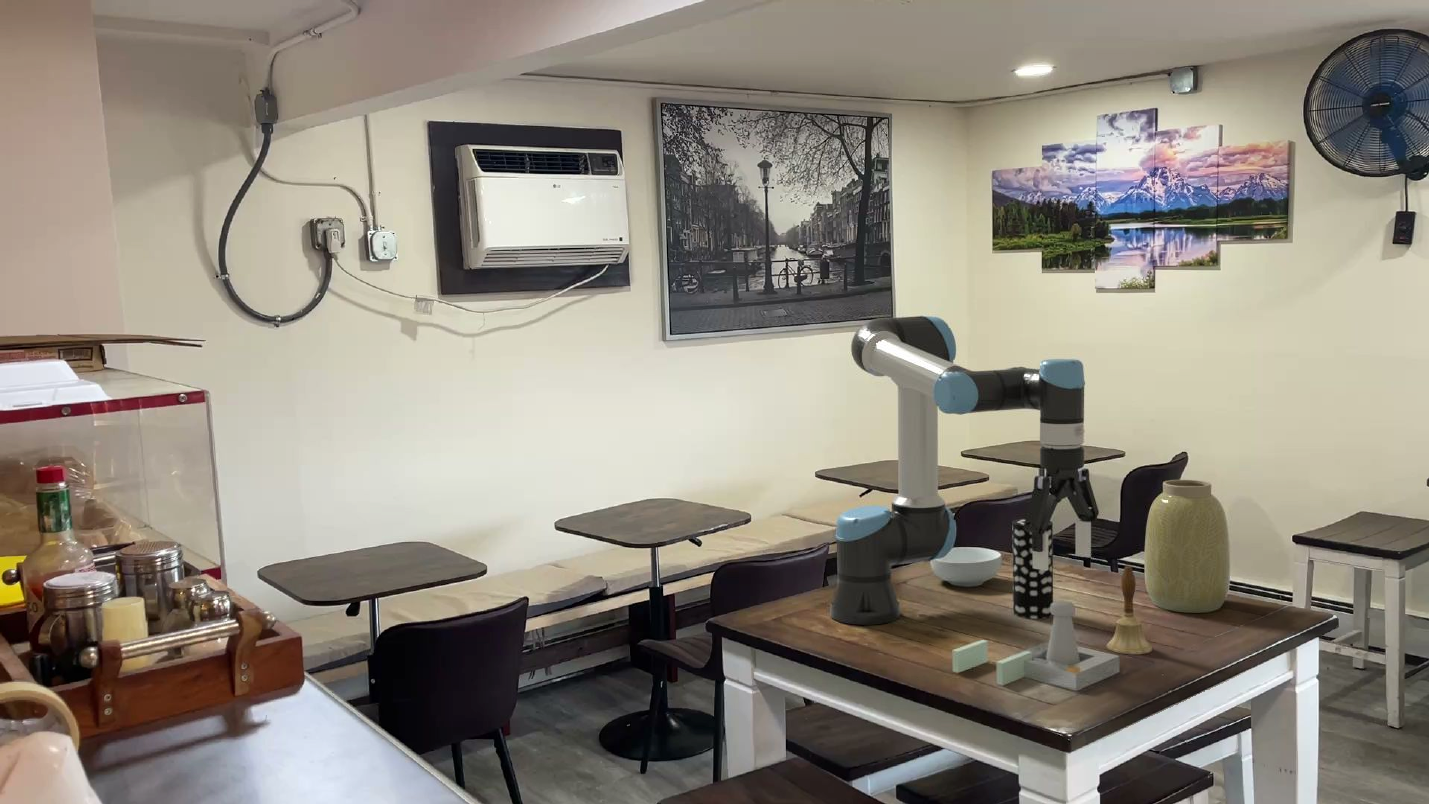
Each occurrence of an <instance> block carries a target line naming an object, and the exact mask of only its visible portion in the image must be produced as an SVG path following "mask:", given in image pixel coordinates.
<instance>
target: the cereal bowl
mask: <svg viewBox="0 0 1429 804" xmlns="http://www.w3.org/2000/svg"><path fill="white" fill-rule="evenodd" d="M929 562H930V567H931V569H932V572H933V574H935V576H936V577H938V578H939V579H941V580H943V581H946V582H948V583H949V584H950V585H952V586H957V587H969V588H970V587H978V586H981V585H983V584H984V583H985V582H987V581H990V580H991V579H993V578H995V577H996V576H997V575H998V573H999V572H1000V570H1001V566H1002V554H1001V552H999V551H997V550H993V549H988V548H983V547H981V548H980V547H970V546H969V547H968V546H967V547H961V546H960V547H952V549H951V551H950V552H948V554H947V555H946V556H944V557H942V558H939V559H934V560H932V561H929Z"/></svg>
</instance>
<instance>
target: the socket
mask: <svg viewBox="0 0 1429 804" xmlns="http://www.w3.org/2000/svg"><path fill="white" fill-rule="evenodd" d="M1048 646H1049V640H1048V641H1045V642H1043V643H1039V644H1037V645H1035V646H1032V647H1028V648H1027V649H1024V650H1021V651H1019V652H1015V653H1013V654H1010V655H1008V656H1007V658H1008V657H1011V656H1014V655H1016V654H1019V653H1022V652H1024V651H1029V652H1032V658H1029V659H1027V660H1024V677H1023V678H1025V679H1026V678H1027V679H1030V680H1035V681H1036V682H1037V681H1038V682H1042V683H1046V684H1049V685H1053V686H1056V687H1060V688H1064V689H1068V690H1070V691H1073V692H1074V691H1075V692H1077V691H1079V690H1082V689H1084V688H1086V687H1088V686H1091V685H1093V684H1095V683H1098V682H1100V681H1103V680H1104V679H1107V678H1109V677H1111V676H1114V675H1116V674H1118V673H1120V655H1116V654H1113V653H1108V652H1103V651H1100V650H1096V649H1091V648H1087V647H1084V646H1083V647H1082V646H1079V645H1077V649H1078V654H1079V659H1080V662H1079V663H1077V664H1075V665H1071V666H1068V665H1064V664H1060V663H1056V662H1052V661H1048V660H1046V656H1047V651H1048Z"/></svg>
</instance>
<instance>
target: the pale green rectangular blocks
mask: <svg viewBox="0 0 1429 804" xmlns="http://www.w3.org/2000/svg"><path fill="white" fill-rule="evenodd" d="M988 642H989V641H988V640H986V639H985V640H984V639H982V640H978V641H977V640H976V641H974V642H972V643H969V644H965V645H964V646H961V647H957V648H954V649H953V650H951V651H952V657H951V658H952V672H953V673H956V674H959V673H962V672H965V671H966V670H967V671H968V670H969V669H972V667H973V668H975V667H978V666H980V665H983V664H986V663H988V661H989V654H988V653H989V652H988V651H989V650H988V649H989V647H988V646H989V645H988V644H989V643H988ZM1023 651H1024V650H1023ZM1015 654H1016V653H1015ZM1029 658H1032V652H1029V651H1024V652H1022V653H1019V654H1016V655H1014V656H1011V657H1008V656H1007V657H1006V658H1003V659H1001V660H998V661H996V663H995V664H996V685H998V686H1005V685H1007V684H1010V683H1012V682H1014V681H1017V680H1020V679H1022V678H1025V677H1024V660H1027V659H1029Z"/></svg>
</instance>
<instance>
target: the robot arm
mask: <svg viewBox="0 0 1429 804" xmlns="http://www.w3.org/2000/svg"><path fill="white" fill-rule="evenodd" d="M850 346H851V349H850V351H851V356H852V359H853V361H854V362H855V364H856V365H857V366H858V367H859V368H860V369H861V370H862V371H864V372H866V373H868V374H870V375H872V376H874V377H885V376H886V377H888V378H890V379H891V381H892V382H893V383H894V384H895V385H896V386H897V437H898V438H897V449H898V450H897V451H898V452H897V453H898V454H897V459H898V460H897V461H898V464H897V467H898V470H897V472H898V477H897V478H898V481H897V482H898V487H897V489H898V493H897V494H896V496H894V497H893V499H892V500H891V511H890V509H889V508H888V507H886V506H882V505H869V506H868V505H866V506H865V505H864V506H860V507H859V506H858V507H854V508H851V509H849V510H845V511H844V512H842V513H841V514H840V515H839V516H838V518H837V520H836V527H835V528H836V529H835V538H836V563H837V582H836V584H835V589H834V592H833V596H832V601H831V603H830V604H829V605H830V609H829V612H830V618H832V619H834V620H835V621H836V622H837V621H838V622H842V623H845V624H849V625H850V624H851V625H862V626H863V625H864V626H865V625H867V626H868V625H882V624H887V623H891V622H893V621H896V620H898V619H899V618H900V617H901V606H900V602H899V601H898V599H897V594H896V592H895V589H894V586H893V582H892V581H893V580H892V566H897V565H904V564H911V563H921V562H926V563H927V562H930V561H932V560H934V559H939V558H942V557H944V556H946V555H947V554H948V552H950V551H951V549H952V548H954V545H955V541H956V537H957V523H956V520H955V519H954V517H955V516H954V514H953V511H951V510H950V509H949V508H948V507H946V502H945V499H943V498H942V496H941V495H939V490H938V489H939V485H938V484H939V458H938V457H939V452H938V451H939V447H938V446H939V439H938V438H939V435H938V434H939V433H938V432H939V427H938V426H939V424H938V423H939V422H938V421H939V419H938V418H939V417H938V413H939V411H941V412H942V413H944V414H946V415H947V414H949V415H951V414H952V415H965V414H973V413H983V412H984V413H985V412H996V411H997V412H998V411H1013V410H1033V411H1034V410H1035V411H1039V412H1040V413H1039V414H1040V416H1039V443H1040V444H1041V445H1043V446H1041V447H1040V449H1039V457H1040V458H1039V464H1040V467H1041V468H1043V469H1045V471H1046V472H1045V476H1042V475H1041V476H1039V475H1036V476H1035V477H1034V478H1033V479H1034V481H1033V491H1032V492H1031V493H1032V494H1031V497H1030V501H1029V505H1028V509H1027V512H1026V513H1027V514H1026V515H1025V518H1024V519H1025V523H1024V530H1026V531H1027V532H1031V533H1032V550H1033V568H1034V569H1039V570H1045V571H1047V570H1048V533H1045V531H1046V529H1047V526H1048V524H1049V522H1050V521H1051V519H1052V516H1053V515H1054V512H1055V510H1056V508H1057V505H1058V503H1061V502H1062V500H1063V499H1066V498H1067V500H1068V501H1069V504H1070V506H1071V507H1072V509H1073V511H1074V512H1075V514H1076V517H1077V518H1078V519H1076V520H1075V523H1074V524H1075V535H1074V536H1075V537H1074V538H1075V556H1076V557H1077V556H1078V557H1083V558H1091V557H1092V548H1091V547H1092V522H1094V523H1095V522H1097V521H1098V517H1099V514H1100V511H1099V508H1098V507H1099V506H1098V503H1097V501H1096V497H1095V495H1094V490H1093V487H1092V484H1091V479H1090V470H1089V468H1084V466H1085V448H1084V447H1083V446H1082V445H1083V444H1084V443H1085V438H1084V437H1085V434H1084V433H1085V426H1084V424H1085V423H1084V422H1085V420H1084V419H1085V385H1086V381H1085V372H1084V364H1083V362H1082V361H1080V359H1075V358H1068V359H1066V358H1052V359H1051V358H1049V359H1044V360H1042V361H1041V362H1040V365H1039V369H1038V368H1030V367H1029V368H1028V367H1024V366H1017V367H1016V366H1015V367H1006V368H1004V369H993V370H992V369H991V370H976V371H975V370H970V369H968V368H965V367H962V366H961V365H958V364H955V363H954V360H955V359H956V355H957V345H956V339H955V336H954V332H953V331H952V329H951V328H950V327H949V324H948V323H947V322H946V321H945V320H943V319H942V318H940V317H937V316H927V315H926V316H925V315H918V316H902V317H879V318H875V319H872V320H871V319H870V320H869V321H867V322H865V323H863V324H862V325H861V326H860V327H859V328H858V329H857V331H855V333H854V336H853V338H852V340H851V345H850ZM938 410H939V411H938ZM1031 523H1032V524H1031ZM1040 525H1041V526H1040Z"/></svg>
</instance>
